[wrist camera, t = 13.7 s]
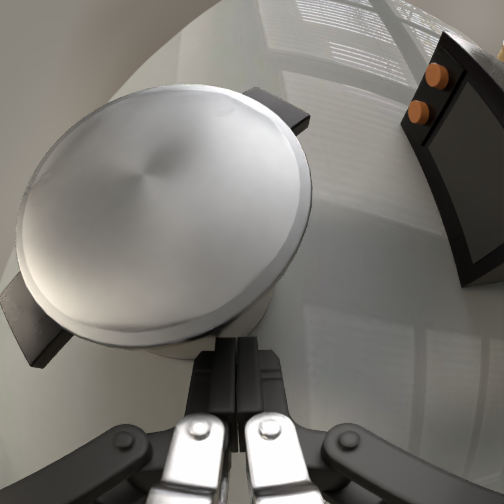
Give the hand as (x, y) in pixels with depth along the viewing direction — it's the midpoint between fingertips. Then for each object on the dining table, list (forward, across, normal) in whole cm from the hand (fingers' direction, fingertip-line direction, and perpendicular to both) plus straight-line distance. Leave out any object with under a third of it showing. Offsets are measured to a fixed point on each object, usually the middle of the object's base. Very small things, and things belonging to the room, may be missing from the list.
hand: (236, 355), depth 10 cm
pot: (+7, +3, -1) cm, 7 cm away
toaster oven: (+11, -20, -5) cm, 24 cm away
